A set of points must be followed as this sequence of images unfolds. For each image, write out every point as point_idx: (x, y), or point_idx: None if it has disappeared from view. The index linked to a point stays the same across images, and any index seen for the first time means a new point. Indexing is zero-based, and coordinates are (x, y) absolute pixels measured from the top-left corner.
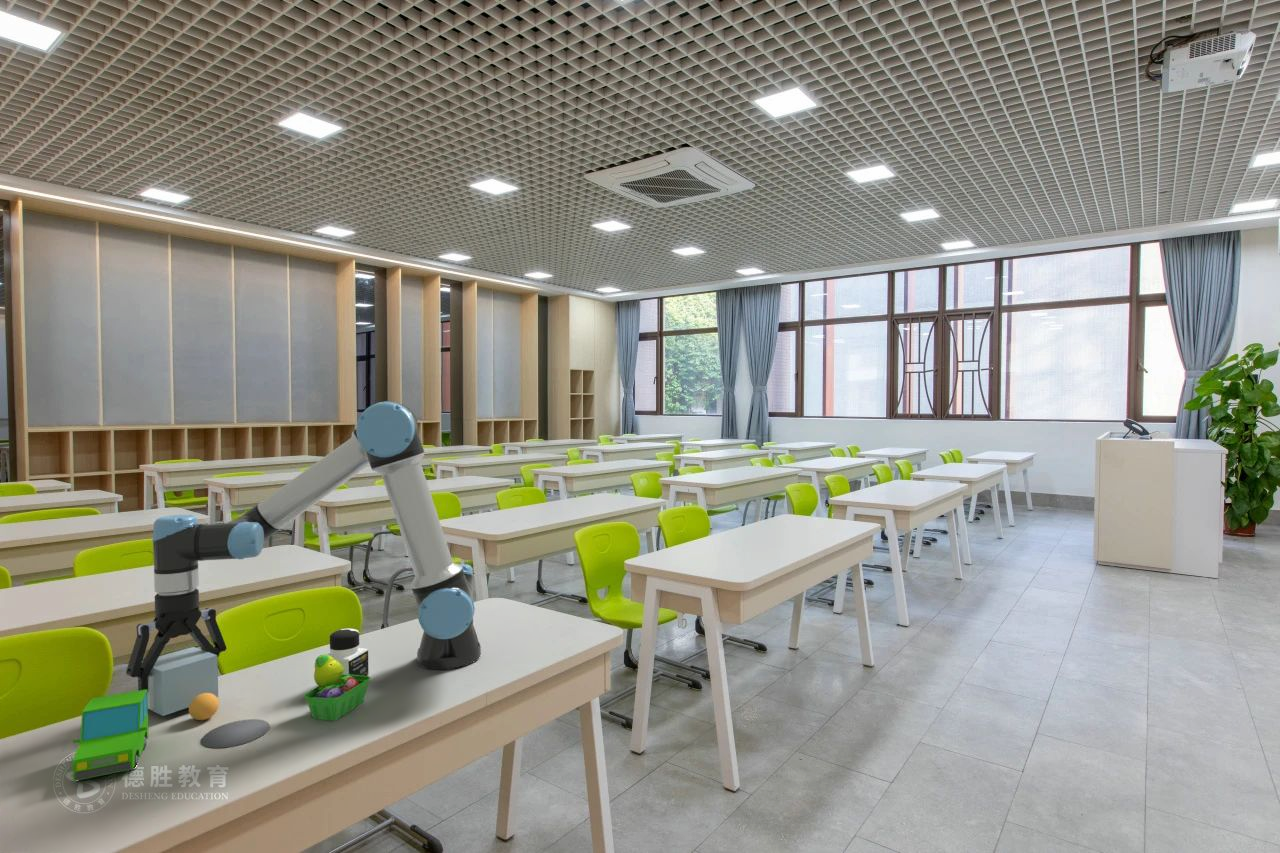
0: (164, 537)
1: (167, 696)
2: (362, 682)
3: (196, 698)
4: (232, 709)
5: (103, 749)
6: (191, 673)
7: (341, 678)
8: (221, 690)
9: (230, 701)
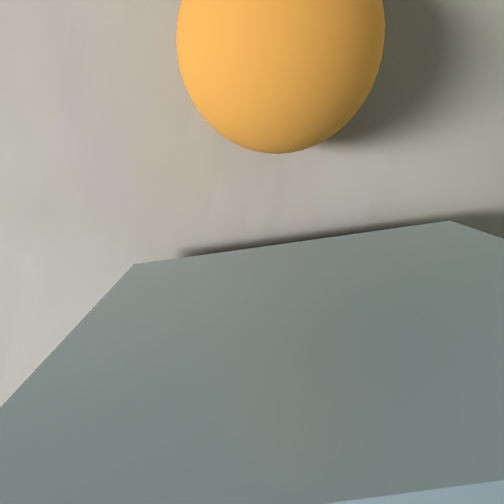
0: None
1: (498, 256)
2: None
3: (357, 6)
4: (106, 86)
5: None
6: (343, 355)
7: None
8: None
9: (86, 229)
